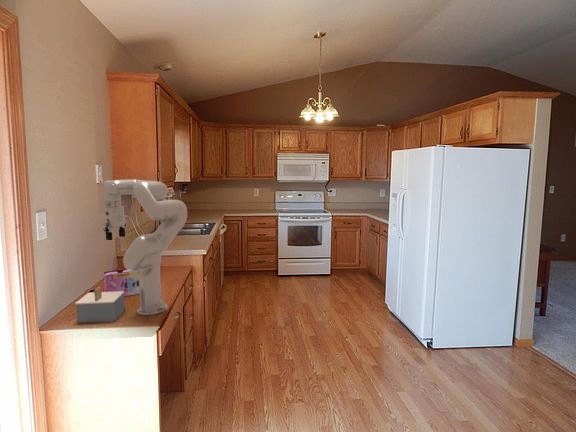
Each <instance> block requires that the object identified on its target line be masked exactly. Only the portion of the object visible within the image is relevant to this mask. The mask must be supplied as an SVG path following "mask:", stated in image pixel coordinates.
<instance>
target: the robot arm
mask: <svg viewBox="0 0 576 432" xmlns="http://www.w3.org/2000/svg"><path fill="white" fill-rule="evenodd" d="M103 193H104V195H103V196H104V197H103V198H104V206H105V207H104V221H103V223H101V227H102V230H103V231H104V233H105V240H106V241H113V232H112V230H113V229H116V228H119V229H118V236H119V237H120V238H121V237H122V238H125V237H126V230H125V229H126V226H127V221H128V220H127V219H126V217H125V211H124V207H123V206H122V196H126V195H127V196H128V195H134V196H135V198H136V200H137V202H138V203H139V205H140V206H141V208H142V210H143V211H144V213H146V215H147V216H148V217H149V219H150V220H152V221H155V222H156V221H157V222H158V221H162V222H161V224H160V225H158V227H157V228H156V230H155V231H154V232H152V233H146V234H141V235H142V236H141V235H139V236H137V237H136V238H135V239H133V241H132V242H131V244H130V246H129V247H128V249H127V250H126V251H125V253H124V255H123V257H122V258H123V259H122V262H123V266H124V269H127V270H130V271H135V270H139V269H141V271H140V274H139V286H140V294H139V299H140V300H139V301H140V307H139V308H137V313H138V314H139V315H141V316H154V315H157V314H161V313H162V312H164V311H165V310H168V308H169V307H168V306H169V304H168V303H164V300H162V290H161V289H162V287H161V263H162V253H163V252H164V251H165V250H166V249H167V248H168V247H169V246H170V244H171V243H172V241H173V240H174V239H175V237H176V236H177V235H178V234H179V232H180V231H181V230H182V228H183V227H184V226H185V224H186V222H187V218H188V208H187V205H186V204H185V203H184V201H182V200H178V199H165V200H163V199H164V198H166V197H167V195H168V194H169V189H168V186H167V185H166V184H165V183H164V182H162V181H158V180H157V181H155V180H143V179H134V178H133V179H129V178H127V179H112V180H104V181H103Z"/></svg>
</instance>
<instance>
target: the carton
mask: <svg viewBox="0 0 576 432" xmlns="http://www.w3.org/2000/svg"><path fill="white" fill-rule="evenodd" d="M75 306H76V307H75V308H76V318H77V319H76V320H77V321H76V322H77V324H95V323H97V324H98V323H115V322H117V320H118V319H119V318H120V317H121V316H122V314H123V313H124V312H125V311H126V308H125V307H126V305H125V296H124V293H123V294H122V295H121V296H120V297H119V298H118V299H117V300H116V301H115V302H114V303H98V304H75Z"/></svg>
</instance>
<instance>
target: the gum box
mask: <svg viewBox="0 0 576 432" xmlns="http://www.w3.org/2000/svg"><path fill="white" fill-rule="evenodd" d="M140 271H141V269H139V270H135V271H130V270H127V269H126V268H123V269H115V270H108V271H103V273H102V274H103V275H102V276H103V288H104V292H117V291H124V297H128V296H133V295H140V286H139V274H140Z"/></svg>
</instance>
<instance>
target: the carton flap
mask: <svg viewBox="0 0 576 432" xmlns="http://www.w3.org/2000/svg"><path fill="white" fill-rule="evenodd" d="M123 293H124V291H117V292H105V291H102V287H101V286H98V287H97V288H95V289H94V290H93V291H92V292H88V293H86V294H85V295H84V296H83V297H81V298H80V299H79V300H78V301H75V302H74V304H75V305H76V304H98V303H114V302H115V301H116V300H117V299H118V298H119V297H120V296H121V295H122V294H123Z"/></svg>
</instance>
